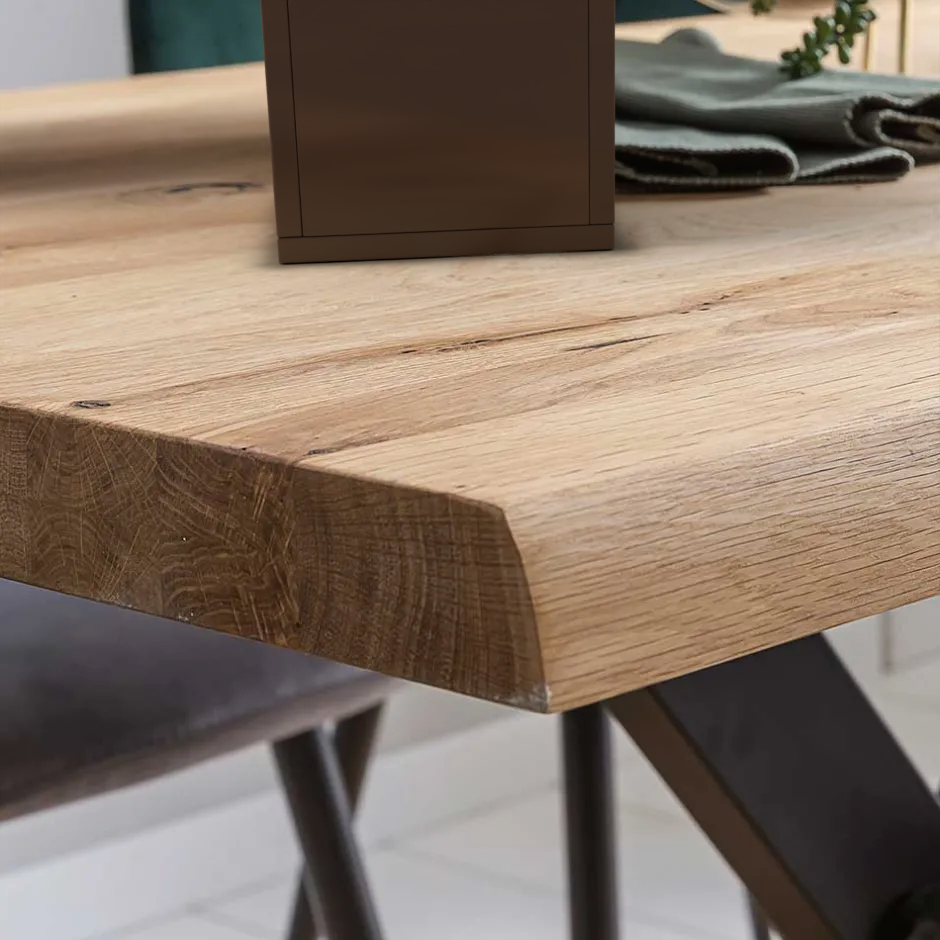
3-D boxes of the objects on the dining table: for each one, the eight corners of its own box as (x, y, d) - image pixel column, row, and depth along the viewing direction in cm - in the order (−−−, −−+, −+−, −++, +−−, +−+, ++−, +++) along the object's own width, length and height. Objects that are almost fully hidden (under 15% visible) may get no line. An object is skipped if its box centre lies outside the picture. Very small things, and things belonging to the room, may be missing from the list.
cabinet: (293, 197, 68) (277, -42, 64) (565, 186, 68) (563, -51, 65) (278, 263, 55) (257, -32, 51) (615, 249, 55) (615, -44, 52)
